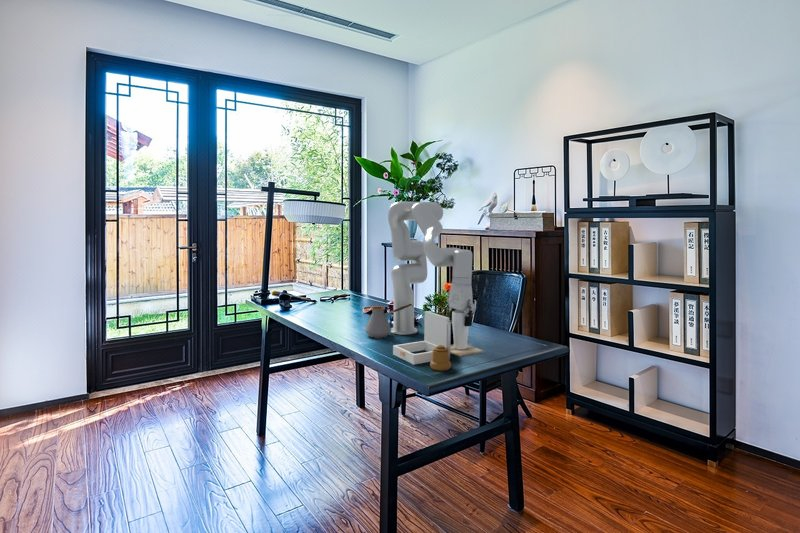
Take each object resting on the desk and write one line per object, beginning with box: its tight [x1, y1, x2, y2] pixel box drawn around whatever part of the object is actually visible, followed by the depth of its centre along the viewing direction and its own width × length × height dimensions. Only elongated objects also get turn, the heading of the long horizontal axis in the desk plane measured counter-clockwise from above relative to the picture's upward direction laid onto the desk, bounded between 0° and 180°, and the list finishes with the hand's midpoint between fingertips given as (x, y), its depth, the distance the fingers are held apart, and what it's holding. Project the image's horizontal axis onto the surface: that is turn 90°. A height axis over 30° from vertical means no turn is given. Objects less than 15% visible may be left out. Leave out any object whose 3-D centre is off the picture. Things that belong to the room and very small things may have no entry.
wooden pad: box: [450, 343, 485, 358], centre depth 190 cm, size 14×12×1 cm
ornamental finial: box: [429, 345, 452, 372], centre depth 167 cm, size 8×8×8 cm
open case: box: [392, 310, 452, 366], centre depth 180 cm, size 16×16×16 cm
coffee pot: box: [364, 304, 413, 339], centre depth 211 cm, size 21×12×15 cm, turn 85°
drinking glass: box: [451, 310, 470, 350], centre depth 189 cm, size 7×7×15 cm
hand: (460, 323), depth 189 cm, fingers open, 9 cm apart
